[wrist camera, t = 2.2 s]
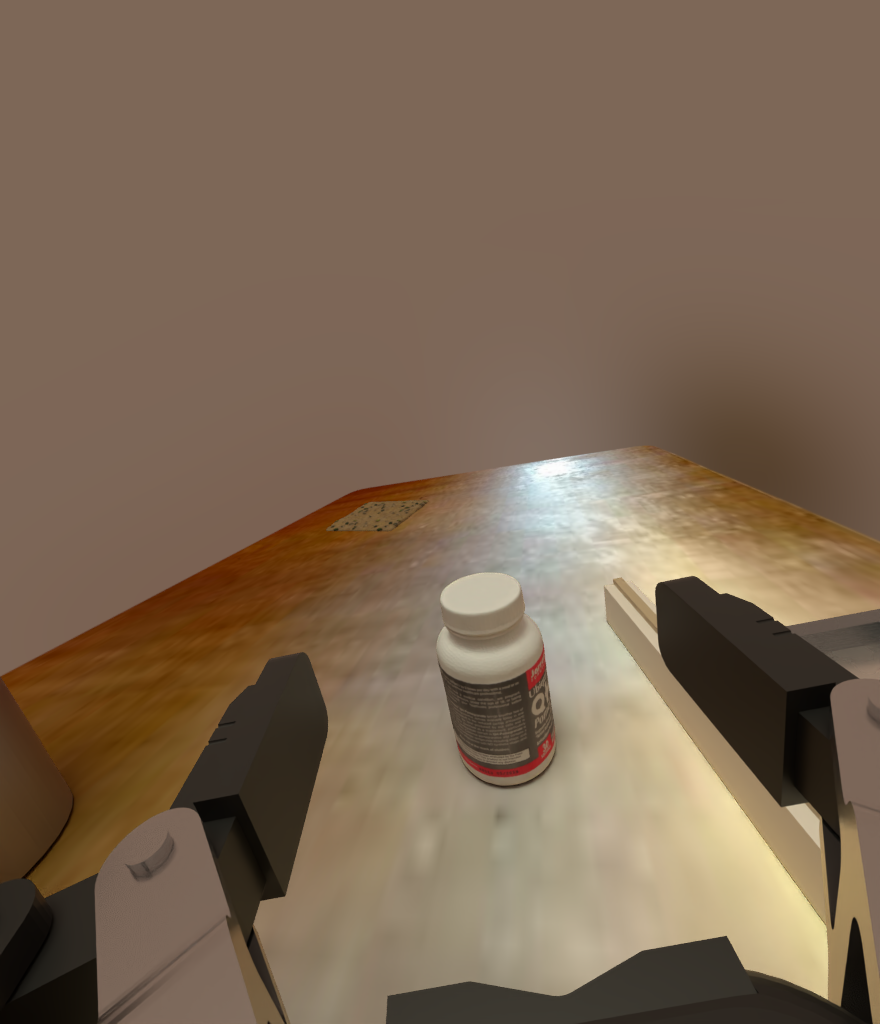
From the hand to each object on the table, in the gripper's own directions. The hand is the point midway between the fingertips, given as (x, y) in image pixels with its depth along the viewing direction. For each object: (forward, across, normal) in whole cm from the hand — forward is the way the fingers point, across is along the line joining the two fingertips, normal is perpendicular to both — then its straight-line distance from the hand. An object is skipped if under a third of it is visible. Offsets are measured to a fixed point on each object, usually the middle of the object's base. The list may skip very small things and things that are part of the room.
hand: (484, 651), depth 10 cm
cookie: (+56, +11, +14) cm, 59 cm away
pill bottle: (+11, 0, +14) cm, 18 cm away
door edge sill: (+10, -11, +14) cm, 20 cm away
